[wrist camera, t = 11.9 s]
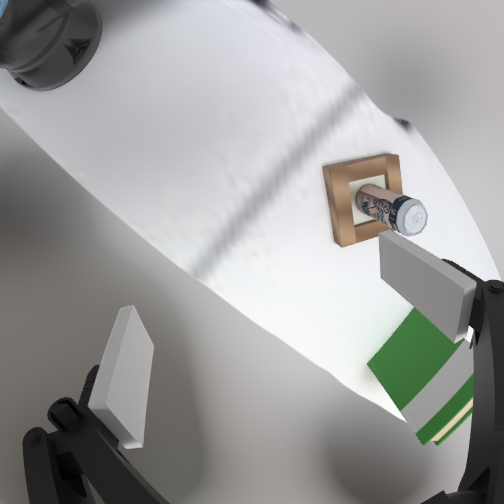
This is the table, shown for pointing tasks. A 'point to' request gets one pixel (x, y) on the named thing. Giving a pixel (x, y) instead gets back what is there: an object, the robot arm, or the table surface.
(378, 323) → the table surface
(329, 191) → the picture frame
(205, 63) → the table surface
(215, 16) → the table surface
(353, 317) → the table surface
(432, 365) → the hardback book
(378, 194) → the beer can
